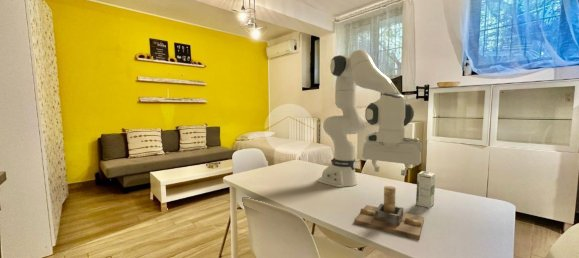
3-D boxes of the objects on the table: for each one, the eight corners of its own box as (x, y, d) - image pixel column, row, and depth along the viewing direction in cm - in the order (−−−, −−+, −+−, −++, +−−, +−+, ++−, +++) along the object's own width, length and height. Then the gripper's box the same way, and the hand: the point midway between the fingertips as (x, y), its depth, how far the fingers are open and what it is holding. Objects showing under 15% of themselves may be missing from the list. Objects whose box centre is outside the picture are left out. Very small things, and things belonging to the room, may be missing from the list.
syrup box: (420, 201, 113) (421, 170, 112) (434, 204, 109) (435, 172, 108) (415, 205, 109) (416, 173, 108) (430, 208, 105) (431, 175, 104)
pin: (382, 218, 93) (383, 188, 92) (384, 215, 97) (385, 185, 95) (393, 221, 91) (394, 190, 90) (395, 217, 94) (396, 187, 93)
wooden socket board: (354, 223, 93) (354, 210, 93) (366, 208, 107) (366, 197, 106) (419, 239, 81) (419, 225, 81) (423, 220, 95) (424, 208, 94)
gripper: (423, 137, 88) (422, 175, 89) (366, 134, 99) (365, 167, 100) (422, 140, 82) (420, 180, 84) (361, 136, 94) (360, 171, 95)
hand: (389, 173), depth 92 cm, fingers open, 8 cm apart
